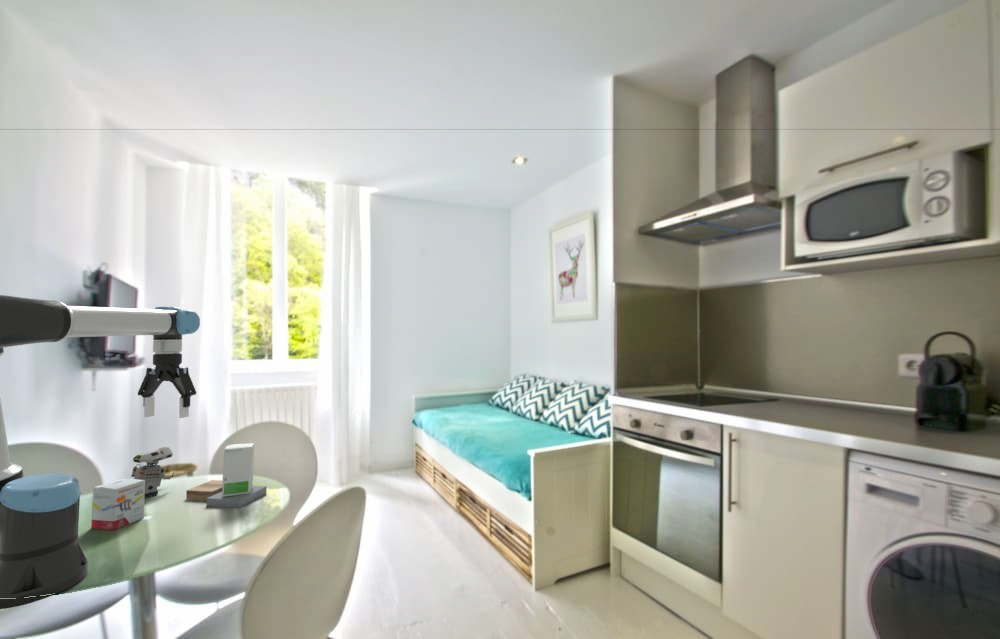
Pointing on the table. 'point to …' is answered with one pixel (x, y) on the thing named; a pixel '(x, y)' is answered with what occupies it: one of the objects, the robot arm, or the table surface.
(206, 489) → the walnut stand
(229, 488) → the skincare box
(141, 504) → the ink box
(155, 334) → the robot arm
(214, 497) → the slate slab
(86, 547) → the table surface
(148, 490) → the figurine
